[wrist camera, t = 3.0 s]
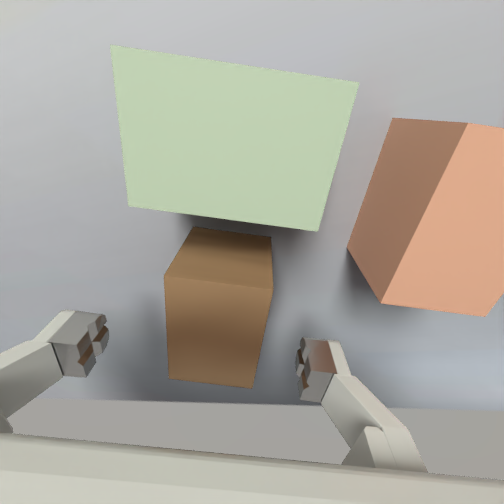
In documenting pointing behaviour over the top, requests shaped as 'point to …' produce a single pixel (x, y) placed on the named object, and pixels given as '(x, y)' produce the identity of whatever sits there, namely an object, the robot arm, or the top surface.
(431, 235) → the terracotta block
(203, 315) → the walnut block
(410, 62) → the top surface
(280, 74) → the sage block
